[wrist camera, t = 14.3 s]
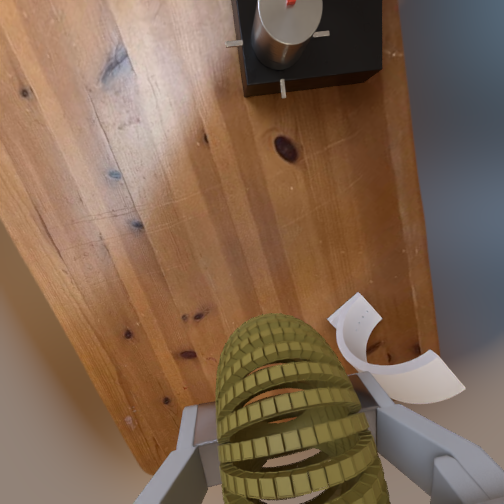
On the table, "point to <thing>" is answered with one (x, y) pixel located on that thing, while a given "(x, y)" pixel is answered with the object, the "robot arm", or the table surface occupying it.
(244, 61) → the panel
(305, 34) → the dial
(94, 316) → the table surface
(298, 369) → the sculpture
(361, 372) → the robot arm
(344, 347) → the headphone stand
